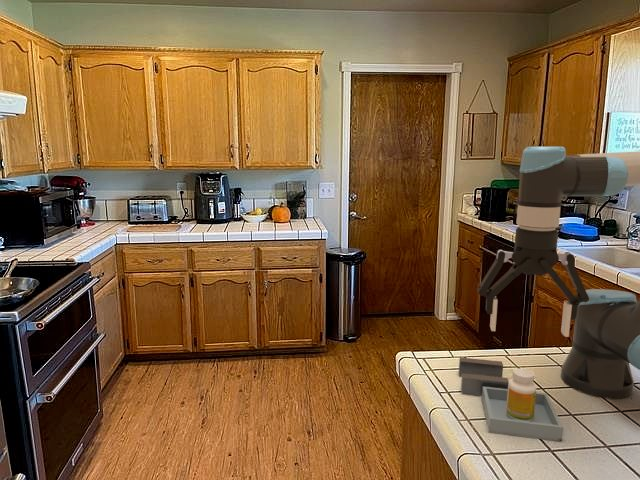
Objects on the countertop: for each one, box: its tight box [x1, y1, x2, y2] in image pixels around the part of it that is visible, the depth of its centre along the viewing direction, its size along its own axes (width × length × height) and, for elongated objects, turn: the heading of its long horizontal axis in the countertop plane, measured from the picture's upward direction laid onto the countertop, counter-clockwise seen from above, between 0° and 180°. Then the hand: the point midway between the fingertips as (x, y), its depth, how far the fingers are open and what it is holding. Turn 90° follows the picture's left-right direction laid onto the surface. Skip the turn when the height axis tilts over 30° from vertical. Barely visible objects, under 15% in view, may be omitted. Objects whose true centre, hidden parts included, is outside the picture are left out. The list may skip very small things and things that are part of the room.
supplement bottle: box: [506, 368, 537, 422], centre depth 99 cm, size 5×5×10 cm
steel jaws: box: [458, 356, 510, 397], centre depth 114 cm, size 10×11×4 cm
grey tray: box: [481, 387, 564, 443], centre depth 100 cm, size 13×13×3 cm
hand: (528, 331), depth 97 cm, fingers open, 13 cm apart
